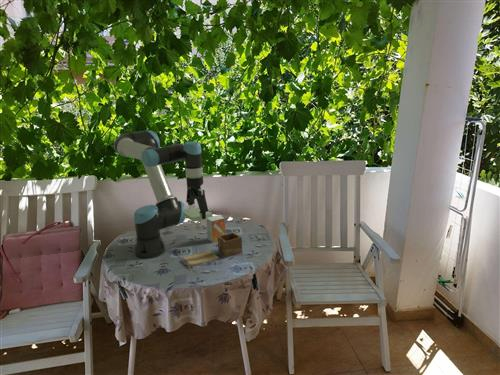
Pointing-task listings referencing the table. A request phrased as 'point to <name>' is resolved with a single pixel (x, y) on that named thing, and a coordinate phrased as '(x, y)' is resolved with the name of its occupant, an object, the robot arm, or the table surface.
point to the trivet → (200, 258)
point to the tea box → (230, 244)
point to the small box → (215, 227)
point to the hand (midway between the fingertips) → (198, 221)
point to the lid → (195, 214)
